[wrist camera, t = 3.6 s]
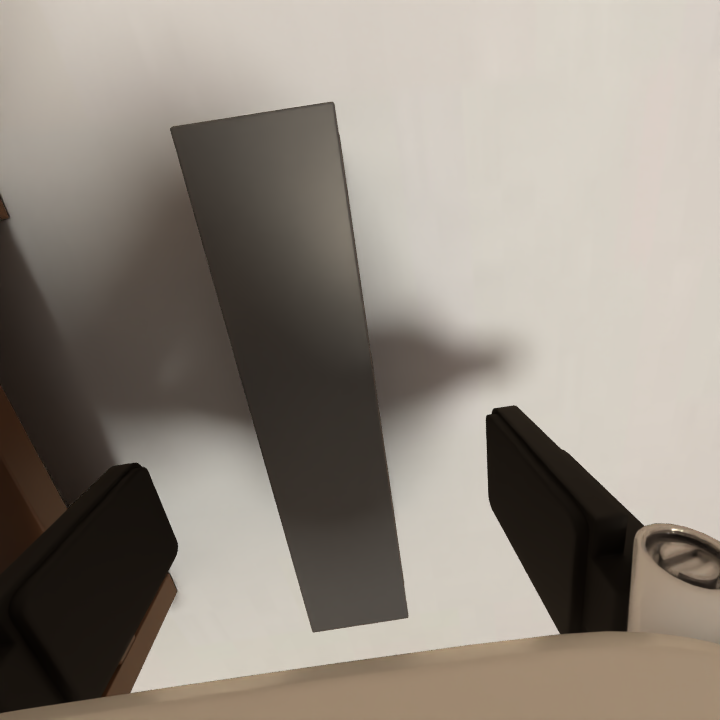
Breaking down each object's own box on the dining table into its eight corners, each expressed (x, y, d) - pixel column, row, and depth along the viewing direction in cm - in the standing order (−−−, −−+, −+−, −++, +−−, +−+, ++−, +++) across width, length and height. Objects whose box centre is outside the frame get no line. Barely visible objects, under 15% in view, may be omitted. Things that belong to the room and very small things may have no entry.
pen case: (319, 528, 20) (311, 633, 14) (233, 168, 14) (166, 126, 8) (391, 517, 20) (410, 618, 14) (338, 152, 14) (336, 99, 8)
